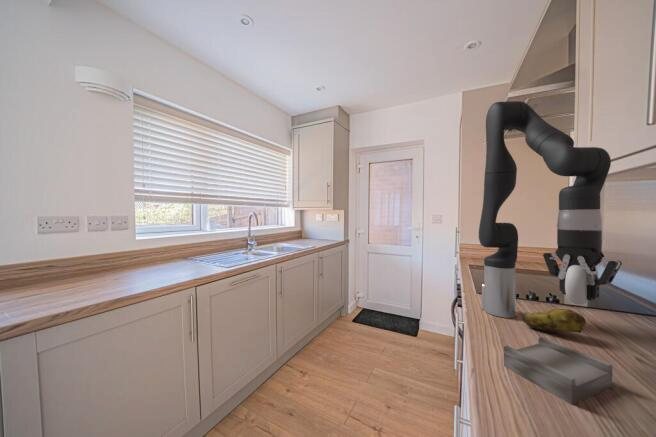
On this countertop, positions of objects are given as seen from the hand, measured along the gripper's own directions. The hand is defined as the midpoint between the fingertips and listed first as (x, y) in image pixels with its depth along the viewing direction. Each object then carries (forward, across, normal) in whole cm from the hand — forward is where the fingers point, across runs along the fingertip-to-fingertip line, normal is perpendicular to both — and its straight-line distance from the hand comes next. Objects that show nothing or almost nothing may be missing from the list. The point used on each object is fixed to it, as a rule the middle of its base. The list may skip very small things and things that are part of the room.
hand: (578, 296), depth 58 cm
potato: (+16, +10, -10) cm, 21 cm away
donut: (+2, 0, 0) cm, 2 cm away
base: (+15, -2, +14) cm, 21 cm away
